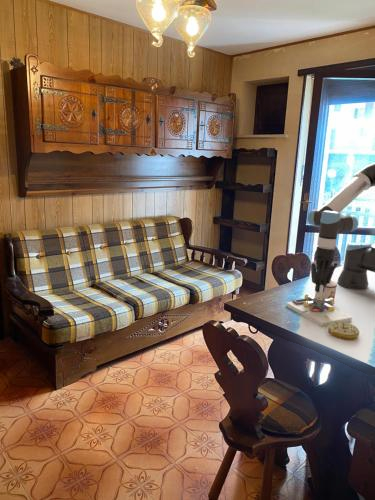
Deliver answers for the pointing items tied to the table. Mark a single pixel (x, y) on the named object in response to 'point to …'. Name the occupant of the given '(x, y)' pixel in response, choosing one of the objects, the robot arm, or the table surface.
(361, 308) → the table surface
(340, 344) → the table surface
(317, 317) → the level stand
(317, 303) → the capstan
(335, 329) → the olive yellow engraved disc
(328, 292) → the teacup with lid
